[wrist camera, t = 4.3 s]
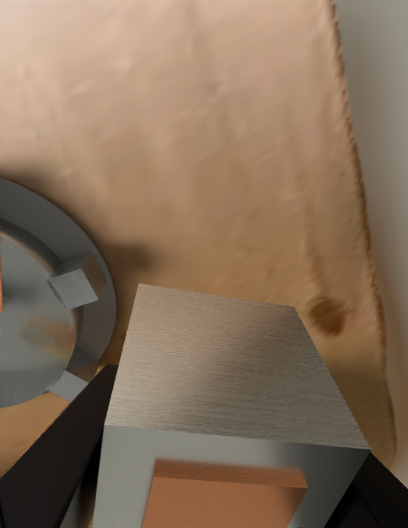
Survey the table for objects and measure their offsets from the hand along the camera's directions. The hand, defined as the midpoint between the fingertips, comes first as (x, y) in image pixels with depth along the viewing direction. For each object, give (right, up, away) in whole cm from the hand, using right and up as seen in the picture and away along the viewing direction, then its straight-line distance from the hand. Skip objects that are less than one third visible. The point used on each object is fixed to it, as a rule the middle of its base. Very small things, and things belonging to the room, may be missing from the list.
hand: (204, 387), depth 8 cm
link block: (0, +1, +1) cm, 1 cm away
